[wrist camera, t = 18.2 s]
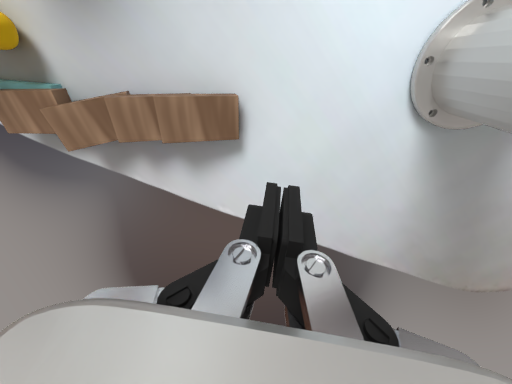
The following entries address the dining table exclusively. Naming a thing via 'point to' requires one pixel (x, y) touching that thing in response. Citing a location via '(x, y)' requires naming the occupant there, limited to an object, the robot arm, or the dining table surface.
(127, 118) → the tile
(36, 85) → the teal tile
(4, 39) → the duckling
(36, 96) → the tile
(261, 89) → the dining table surface
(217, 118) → the tile
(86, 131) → the tile
